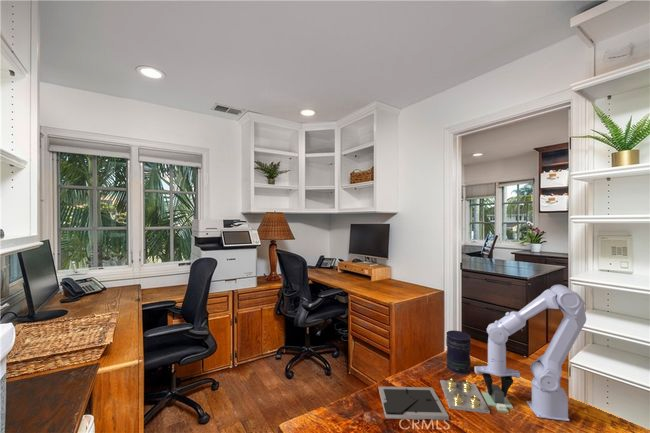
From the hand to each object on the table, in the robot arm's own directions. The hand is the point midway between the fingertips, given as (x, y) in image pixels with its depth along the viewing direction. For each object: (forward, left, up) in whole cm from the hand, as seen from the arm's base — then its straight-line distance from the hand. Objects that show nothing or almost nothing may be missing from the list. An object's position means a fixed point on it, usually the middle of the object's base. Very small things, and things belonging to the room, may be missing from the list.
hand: (496, 394), depth 104 cm
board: (0, 0, -2) cm, 2 cm away
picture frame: (+31, +8, -3) cm, 32 cm away
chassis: (+12, 0, -2) cm, 12 cm away
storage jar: (+8, -21, -2) cm, 23 cm away
